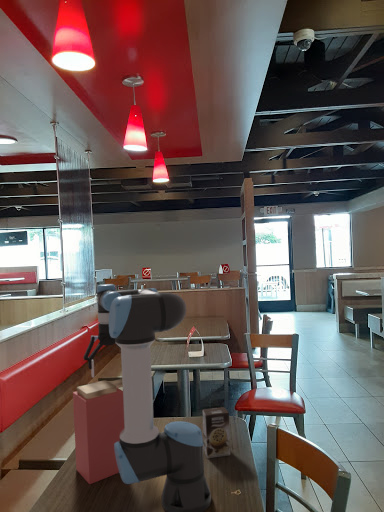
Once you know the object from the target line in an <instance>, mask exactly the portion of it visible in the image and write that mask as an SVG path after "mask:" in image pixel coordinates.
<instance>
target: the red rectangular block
mask: <svg viewBox="0 0 384 512" xmlns="http://www.w3.org/2000/svg"><path fill="white" fill-rule="evenodd" d="M116 391H117V392H113V393H110V394H106V395H102V396H99V397H95V398H91V399H85V398H84V397H82V396H81V395H80V394H78V393H77V390H76V391H72V403H73V405H72V406H73V421H74V423H73V424H74V426H73V428H74V443H75V444H74V446H75V465H76V466H75V468H76V471H77V472H78V474H79V475H80V476H81V477H82V478H83V479H84V480H85V481H86V482H87V483H88V484H89V485H91V484H92V485H93V484H95V483H97V482H99V481H102V480H104V479H106V478H109V477H113V476H114V475H117V474H120V473H119V469H118V465H117V461H116V456H115V451H114V444H115V443H116V442H117V441H120V433H121V431H122V430H123V429H124V406H123V389H121V388H116Z"/></svg>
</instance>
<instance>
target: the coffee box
mask: <svg viewBox="0 0 384 512" xmlns="http://www.w3.org/2000/svg"><path fill="white" fill-rule="evenodd" d="M230 432H231V431H230V412H229V411H228V409H226V407H225V406H222V407H212V408H204V409H202V438H203V442H204V444H203V453H204V454H205V456H206V458H207V459H211V458H219V457H226V456H231V437H230V435H231V434H230Z"/></svg>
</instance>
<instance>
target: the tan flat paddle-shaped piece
mask: <svg viewBox="0 0 384 512" xmlns="http://www.w3.org/2000/svg"><path fill="white" fill-rule="evenodd" d="M116 388H118V389H121V388H123V383H122V378H119V379H115V380H111V381H108V380H106V379H105V380H104V379H103V380H100V381H96V382H93V383H89V384H84V385H80V386H79V385H78V386H77V387H76V391H77V393H78V394H80V395H81V396H82V397H84V398H85V399H91V398H95V397H99V396H102V395H106V394H110V393H113V392H117V391H116Z"/></svg>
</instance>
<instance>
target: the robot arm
mask: <svg viewBox="0 0 384 512" xmlns="http://www.w3.org/2000/svg"><path fill="white" fill-rule="evenodd" d="M96 301H97V323H98V325H97V326H98V327H97V328H98V335H93V334H92V335H91V336H90V341H89V344H88V346H87V348H86V350H85V353H84V355H83V357H82V359H83V360H84V361H86V362H88V363H87V365H88V369H89V370H90V371H91V374H90V375H91V378H95V364H94V363H95V361H94V358H95V356H96V355H97V354H98V352H99V351H100V350H101V348H103V346H105V347H107V346H114V345H116V346H117V347H118V348H119V349H120V358H121V375H122V376H121V379H122V383H123V387H122V391H123V406H124V429H123V430H122V431H121V433H120V441H117V442H116V443H115V444H114V451H115V456H116V461H117V465H118V469H119V473H118V474H119V475H120V479H121V481H122V482H123V483H124V484H125V485H131V484H136V483H137V484H140V483H141V482H145V481H147V480H148V481H149V480H153V479H156V478H161V477H163V476H166V477H165V481H164V485H163V489H162V491H161V505H162V508H163V509H164V510H165V512H205V511H207V509H208V508H209V507H210V505H211V502H212V496H211V495H212V494H211V492H212V491H211V489H210V486H209V484H208V481H207V478H206V476H205V463H204V461H205V459H204V442H203V430H202V429H201V427H199V426H198V425H197V424H195V423H193V422H192V423H191V422H187V421H182V420H181V421H180V420H179V421H171V422H169V423H168V422H167V424H165V426H164V429H163V431H162V432H160V431H159V427H157V426H155V424H154V423H155V422H154V421H155V420H154V402H153V397H154V396H153V381H152V380H153V379H152V357H151V356H152V355H151V346H152V345H153V344H154V342H156V333H162V332H163V333H164V332H168V331H171V330H173V329H175V328H176V327H178V326H179V325H180V324H181V323H182V322H183V320H184V319H185V317H186V314H187V304H186V302H185V300H184V299H183V298H182V296H180V295H178V294H176V293H173V292H158V289H157V288H155V287H154V288H153V287H152V288H150V287H146V288H139V289H137V288H136V289H125V290H124V289H121V290H117V289H116V285H115V284H113V283H107V284H106V283H105V284H98V285H97V286H96ZM97 340H98V341H99V342H98V344H97V345H96V346H95V348H94V349H93V346H94V344H95V342H96V341H97ZM92 350H93V351H92Z"/></svg>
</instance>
